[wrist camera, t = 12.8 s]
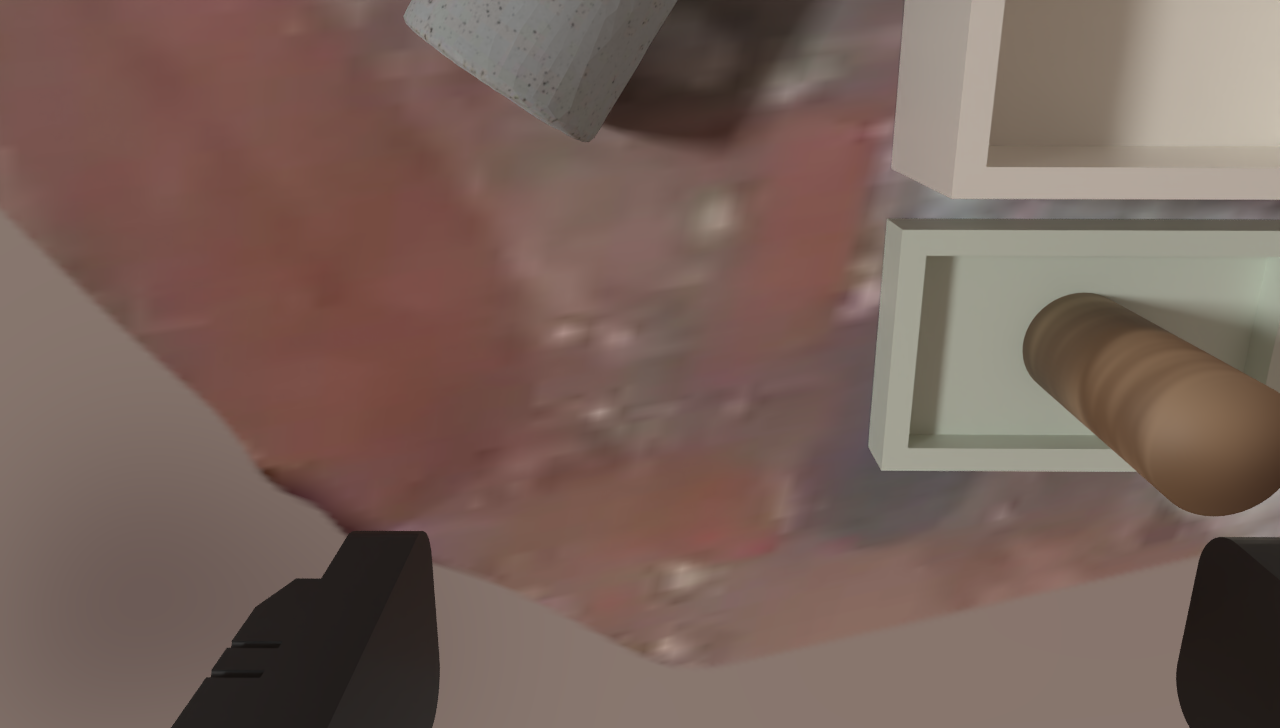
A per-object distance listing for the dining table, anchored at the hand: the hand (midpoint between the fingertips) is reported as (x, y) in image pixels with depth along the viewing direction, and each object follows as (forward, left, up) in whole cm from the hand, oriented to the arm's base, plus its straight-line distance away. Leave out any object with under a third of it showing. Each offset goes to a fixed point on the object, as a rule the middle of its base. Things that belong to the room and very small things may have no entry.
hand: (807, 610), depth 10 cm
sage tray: (+6, +16, -30) cm, 35 cm away
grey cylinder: (-8, -6, -30) cm, 32 cm away
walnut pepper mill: (+6, +16, -29) cm, 34 cm away
